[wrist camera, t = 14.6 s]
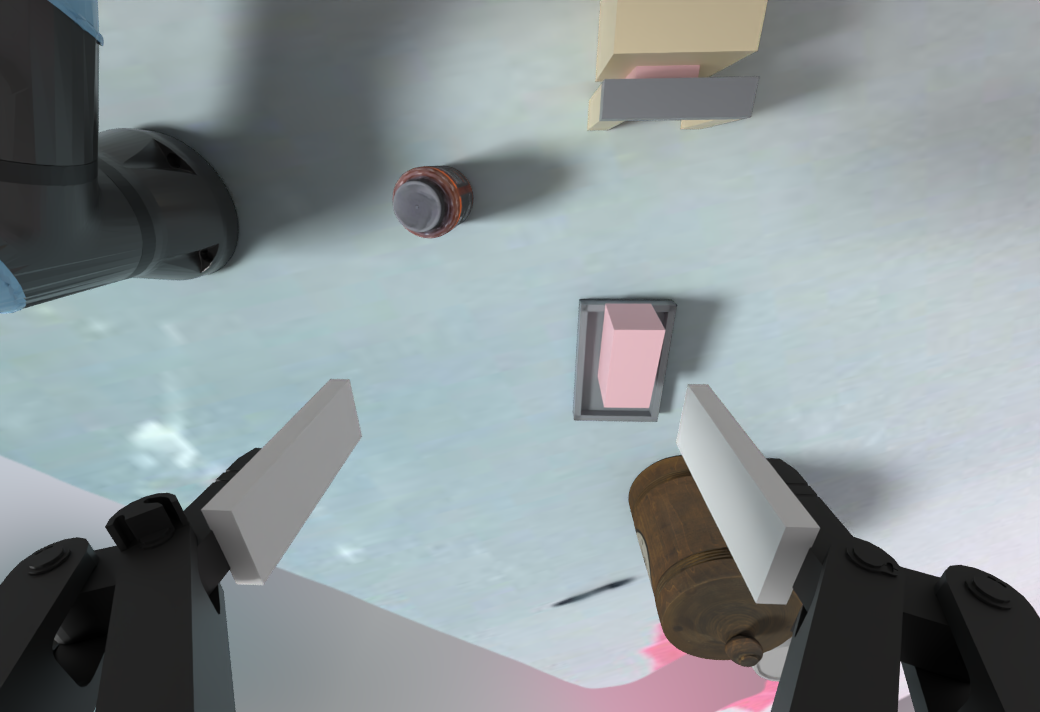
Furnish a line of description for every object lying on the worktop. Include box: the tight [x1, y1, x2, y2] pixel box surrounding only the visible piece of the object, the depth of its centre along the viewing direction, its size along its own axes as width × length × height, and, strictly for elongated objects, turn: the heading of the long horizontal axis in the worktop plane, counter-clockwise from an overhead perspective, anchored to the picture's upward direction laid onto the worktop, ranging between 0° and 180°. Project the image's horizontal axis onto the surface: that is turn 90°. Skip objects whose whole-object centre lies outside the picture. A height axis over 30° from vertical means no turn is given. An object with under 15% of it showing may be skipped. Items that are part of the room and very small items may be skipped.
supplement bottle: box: [393, 166, 473, 238], centre depth 37 cm, size 6×6×11 cm
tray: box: [573, 299, 677, 422], centre depth 48 cm, size 11×16×2 cm
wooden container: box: [629, 456, 802, 667], centre depth 48 cm, size 15×15×22 cm
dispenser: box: [587, 0, 768, 131], centre depth 32 cm, size 11×12×10 cm
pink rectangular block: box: [598, 303, 665, 408], centre depth 44 cm, size 5×10×6 cm, turn 1°
